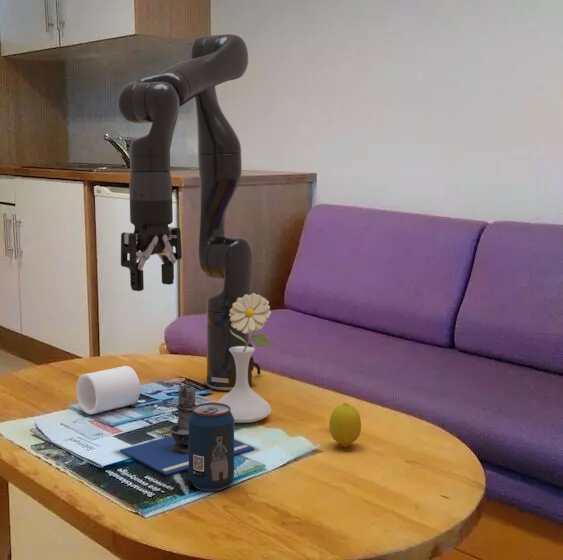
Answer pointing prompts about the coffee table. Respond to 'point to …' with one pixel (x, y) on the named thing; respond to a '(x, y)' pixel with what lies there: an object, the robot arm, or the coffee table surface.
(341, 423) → the lemon
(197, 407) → the soda can
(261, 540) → the coffee table surface
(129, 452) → the blue notebook
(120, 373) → the mug
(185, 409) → the dark grey turned piece
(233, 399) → the flower in vase
